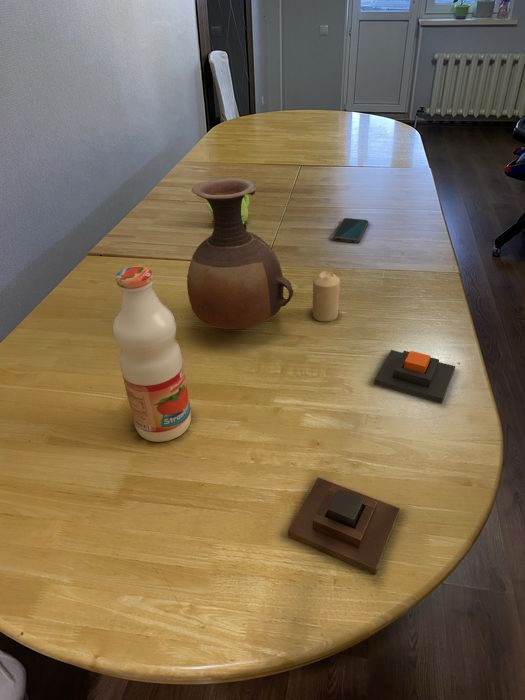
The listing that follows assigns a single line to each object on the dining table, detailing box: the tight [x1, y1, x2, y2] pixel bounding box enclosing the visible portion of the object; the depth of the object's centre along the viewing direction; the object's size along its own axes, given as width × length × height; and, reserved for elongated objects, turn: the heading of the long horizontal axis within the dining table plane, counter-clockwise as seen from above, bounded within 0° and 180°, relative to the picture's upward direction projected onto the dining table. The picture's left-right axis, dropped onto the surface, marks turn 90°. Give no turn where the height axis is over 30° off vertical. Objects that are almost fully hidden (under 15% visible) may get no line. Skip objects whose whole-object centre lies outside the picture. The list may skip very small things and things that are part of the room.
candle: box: [312, 270, 341, 322], centre depth 110 cm, size 6×6×10 cm
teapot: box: [205, 194, 251, 224], centre depth 155 cm, size 12×12×10 cm
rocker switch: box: [327, 489, 364, 528], centre depth 67 cm, size 4×4×2 cm
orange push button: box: [373, 349, 456, 404], centre depth 93 cm, size 12×10×3 cm
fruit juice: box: [112, 265, 192, 443], centre depth 79 cm, size 9×9×28 cm
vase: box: [186, 177, 294, 330], centre depth 101 cm, size 23×19×30 cm
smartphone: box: [332, 217, 369, 244], centre depth 148 cm, size 8×15×1 cm, turn 160°
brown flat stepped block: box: [287, 477, 401, 575], centre depth 68 cm, size 12×10×3 cm
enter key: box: [404, 350, 431, 374], centre depth 92 cm, size 4×4×2 cm
